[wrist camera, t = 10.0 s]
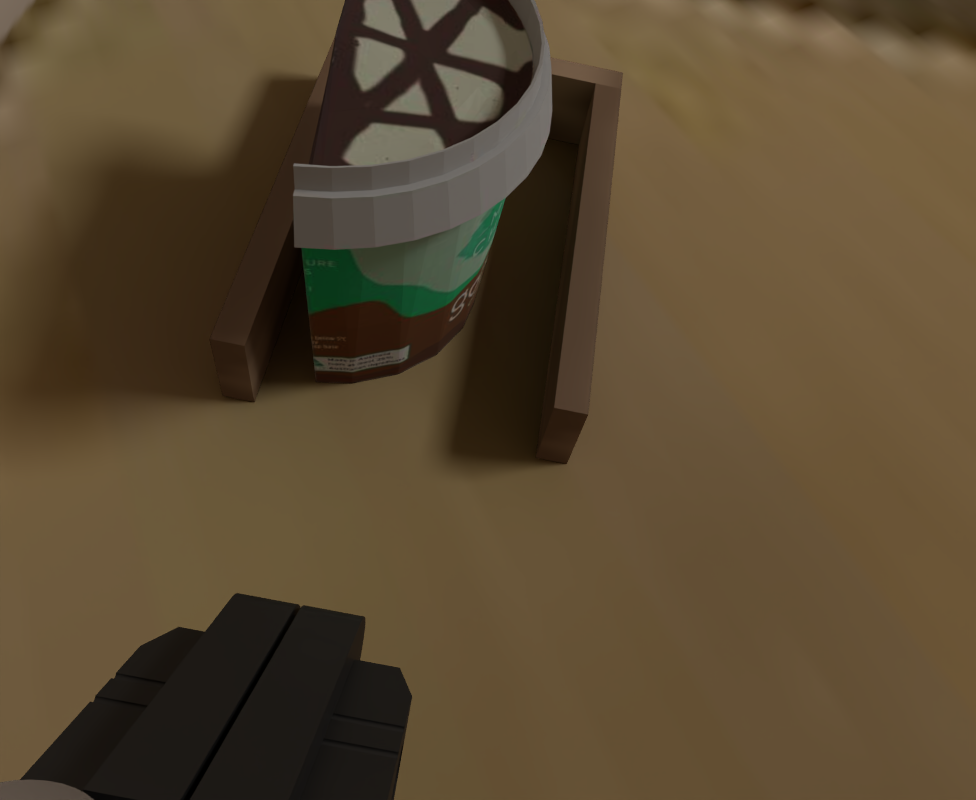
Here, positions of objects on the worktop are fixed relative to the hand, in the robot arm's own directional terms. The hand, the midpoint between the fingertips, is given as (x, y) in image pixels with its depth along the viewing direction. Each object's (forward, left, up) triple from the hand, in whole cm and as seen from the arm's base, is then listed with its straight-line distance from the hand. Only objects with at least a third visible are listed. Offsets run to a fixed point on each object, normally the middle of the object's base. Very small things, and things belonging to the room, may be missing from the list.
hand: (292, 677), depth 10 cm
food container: (+1, -17, -13) cm, 22 cm away
